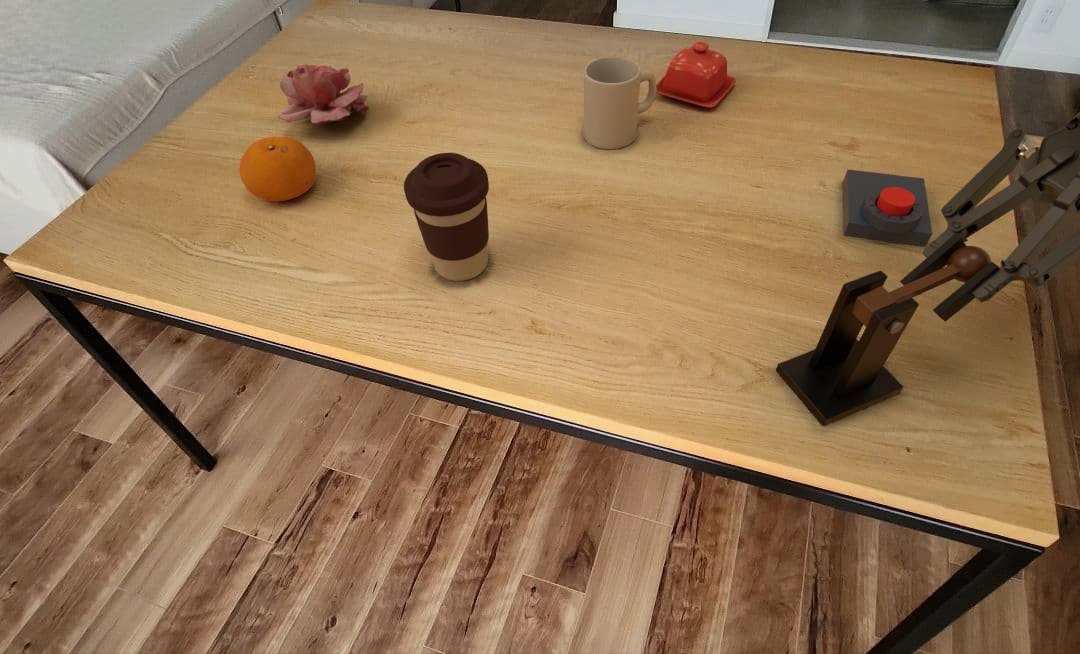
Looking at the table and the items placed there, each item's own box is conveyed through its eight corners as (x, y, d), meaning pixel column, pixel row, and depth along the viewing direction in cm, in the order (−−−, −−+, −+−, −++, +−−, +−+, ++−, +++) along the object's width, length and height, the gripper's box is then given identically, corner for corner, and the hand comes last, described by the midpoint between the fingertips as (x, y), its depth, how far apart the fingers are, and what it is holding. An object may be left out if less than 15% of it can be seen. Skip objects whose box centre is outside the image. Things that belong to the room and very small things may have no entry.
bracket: (848, 341, 73) (892, 251, 63) (900, 393, 69) (956, 305, 58) (775, 370, 71) (808, 282, 61) (822, 426, 66) (867, 341, 56)
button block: (926, 251, 82) (939, 227, 79) (843, 239, 85) (853, 216, 82) (918, 191, 90) (929, 167, 87) (842, 181, 93) (851, 158, 90)
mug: (598, 155, 100) (599, 89, 92) (574, 129, 105) (574, 64, 97) (665, 135, 103) (672, 69, 94) (639, 110, 108) (643, 46, 100)
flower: (355, 133, 102) (336, 67, 97) (273, 142, 105) (250, 79, 100) (388, 109, 114) (373, 50, 109) (314, 118, 117) (296, 61, 112)
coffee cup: (474, 299, 81) (457, 203, 70) (410, 276, 84) (383, 182, 73) (512, 250, 86) (501, 155, 75) (449, 231, 90) (430, 137, 78)
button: (911, 219, 81) (916, 208, 80) (877, 214, 82) (881, 203, 81) (908, 200, 84) (913, 189, 82) (875, 195, 85) (880, 185, 83)
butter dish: (738, 84, 112) (748, 35, 105) (711, 115, 106) (719, 66, 99) (678, 69, 116) (683, 21, 110) (648, 98, 110) (652, 50, 104)
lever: (962, 259, 65) (976, 233, 62) (991, 281, 63) (1007, 256, 60) (844, 311, 63) (853, 287, 60) (870, 337, 61) (880, 313, 58)
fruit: (304, 215, 94) (285, 169, 88) (239, 208, 95) (216, 163, 89) (333, 172, 100) (317, 127, 94) (272, 167, 102) (252, 122, 96)
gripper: (1251, 179, 53) (998, 369, 62) (1069, 88, 63) (875, 261, 72) (1258, 139, 48) (981, 352, 56) (1059, 47, 58) (851, 239, 67)
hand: (922, 301), depth 64 cm, fingers closed on lever, 4 cm apart
